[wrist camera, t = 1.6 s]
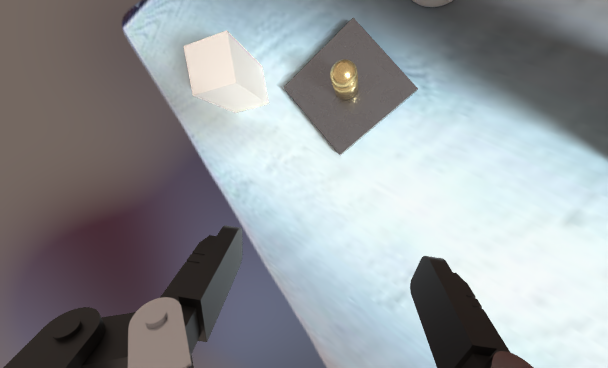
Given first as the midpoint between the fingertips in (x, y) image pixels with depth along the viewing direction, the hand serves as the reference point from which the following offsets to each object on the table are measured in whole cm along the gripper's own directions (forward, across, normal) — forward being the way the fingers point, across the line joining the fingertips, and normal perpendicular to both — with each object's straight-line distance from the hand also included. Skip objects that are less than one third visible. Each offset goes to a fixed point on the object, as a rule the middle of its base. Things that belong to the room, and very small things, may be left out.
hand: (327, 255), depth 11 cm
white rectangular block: (+31, +13, -2) cm, 34 cm away
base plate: (+29, -2, -4) cm, 29 cm away
